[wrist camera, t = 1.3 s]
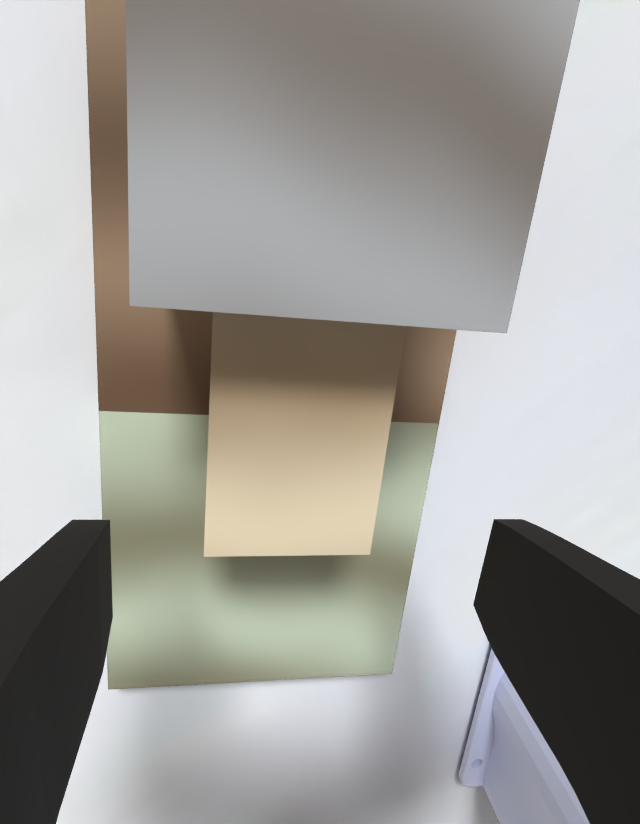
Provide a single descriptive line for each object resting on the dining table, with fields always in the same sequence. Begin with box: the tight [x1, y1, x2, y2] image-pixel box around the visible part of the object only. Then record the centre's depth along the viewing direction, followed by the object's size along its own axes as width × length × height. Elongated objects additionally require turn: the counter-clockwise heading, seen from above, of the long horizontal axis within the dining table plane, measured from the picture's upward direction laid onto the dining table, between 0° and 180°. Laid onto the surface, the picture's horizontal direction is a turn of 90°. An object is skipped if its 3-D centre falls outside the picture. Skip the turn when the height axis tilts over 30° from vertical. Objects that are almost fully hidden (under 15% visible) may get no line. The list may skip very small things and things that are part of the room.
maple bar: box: [204, 312, 406, 557], centre depth 13 cm, size 9×4×4 cm, turn 174°
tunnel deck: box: [85, 0, 580, 689], centre depth 12 cm, size 31×10×7 cm, turn 174°
